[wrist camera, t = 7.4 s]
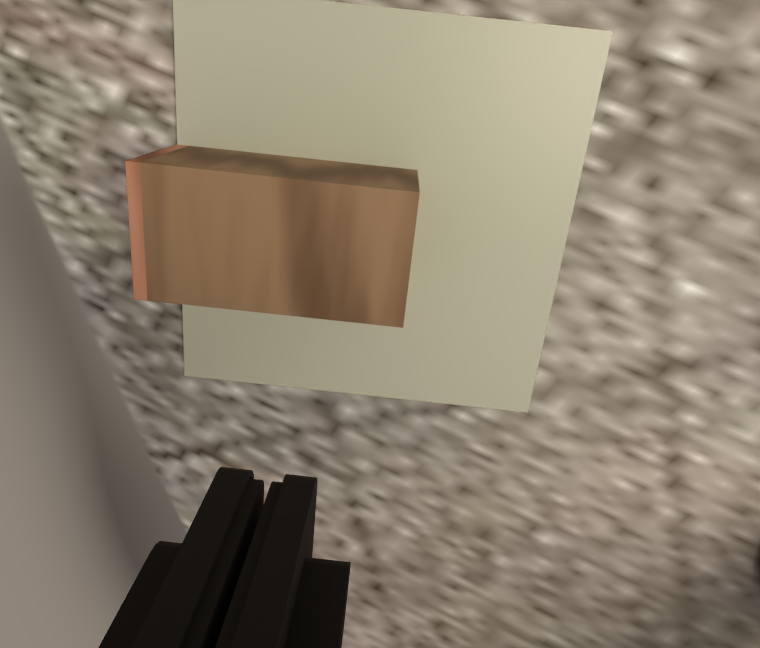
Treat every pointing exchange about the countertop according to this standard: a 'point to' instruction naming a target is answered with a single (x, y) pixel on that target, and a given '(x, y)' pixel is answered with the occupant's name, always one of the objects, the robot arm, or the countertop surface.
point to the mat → (409, 151)
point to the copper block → (272, 233)
